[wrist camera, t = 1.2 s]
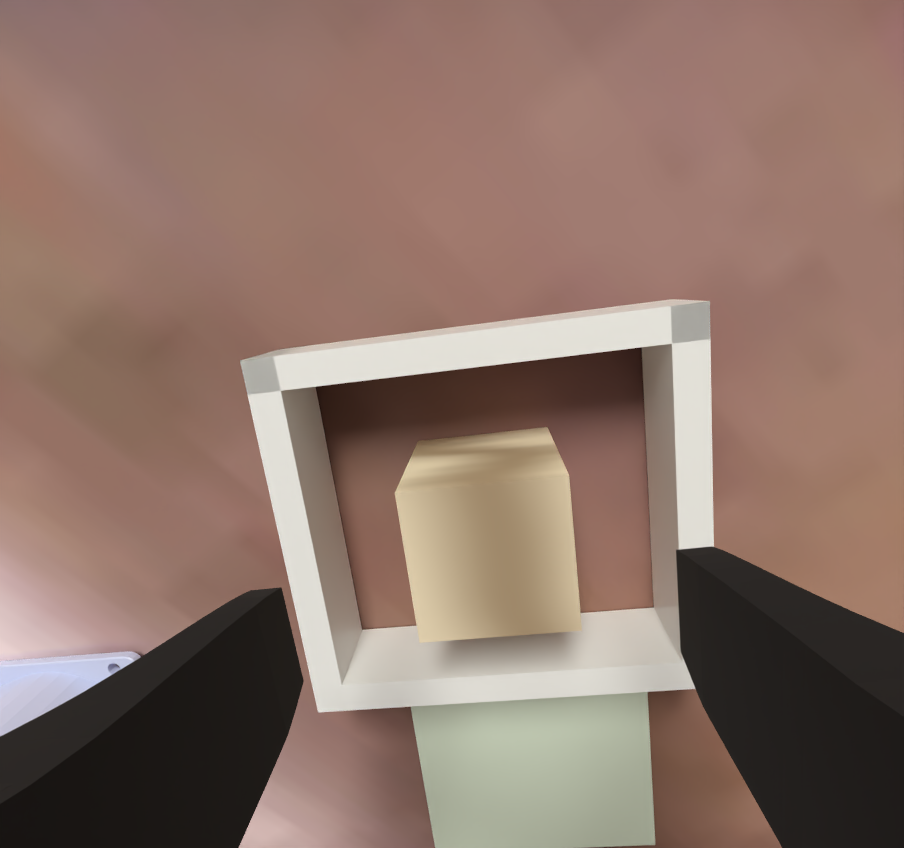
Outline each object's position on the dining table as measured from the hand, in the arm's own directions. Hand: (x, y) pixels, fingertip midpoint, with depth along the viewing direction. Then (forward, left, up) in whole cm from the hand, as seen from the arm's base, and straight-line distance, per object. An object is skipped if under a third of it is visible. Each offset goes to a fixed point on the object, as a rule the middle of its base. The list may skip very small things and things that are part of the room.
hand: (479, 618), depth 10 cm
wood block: (0, -1, -9) cm, 9 cm away
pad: (+1, -12, -9) cm, 15 cm away
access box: (0, -1, -9) cm, 9 cm away
